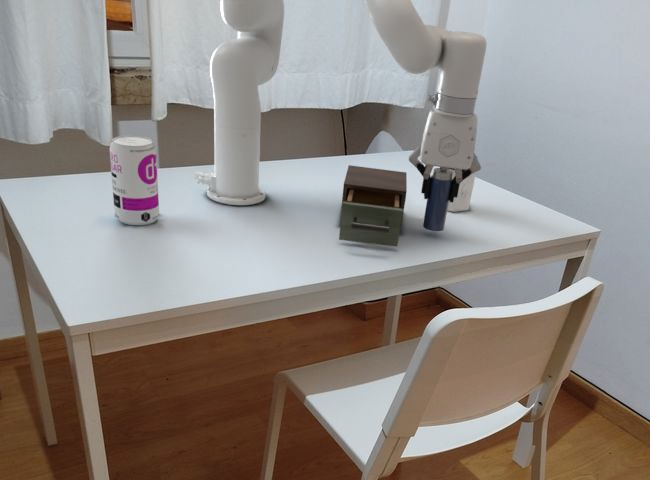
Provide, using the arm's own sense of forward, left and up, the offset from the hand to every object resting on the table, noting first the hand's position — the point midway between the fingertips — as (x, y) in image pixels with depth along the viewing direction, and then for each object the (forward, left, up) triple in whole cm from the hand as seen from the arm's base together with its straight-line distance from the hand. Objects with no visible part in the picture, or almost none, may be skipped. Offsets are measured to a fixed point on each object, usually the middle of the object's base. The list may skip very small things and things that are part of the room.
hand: (438, 197), depth 135 cm
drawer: (-13, -7, -7) cm, 16 cm away
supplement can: (-58, -11, -8) cm, 60 cm away
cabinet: (-13, +5, -8) cm, 16 cm away
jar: (+5, +21, -8) cm, 23 cm away
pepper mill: (0, 0, -6) cm, 6 cm away
